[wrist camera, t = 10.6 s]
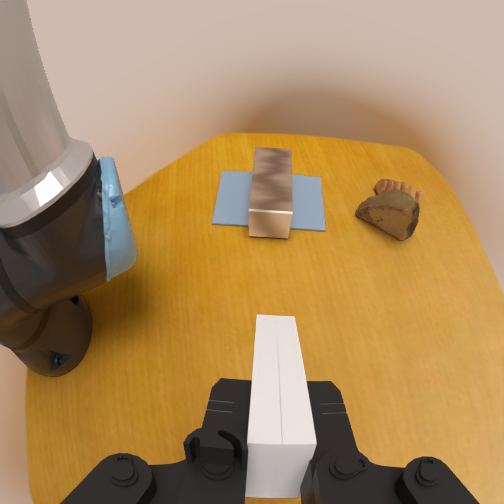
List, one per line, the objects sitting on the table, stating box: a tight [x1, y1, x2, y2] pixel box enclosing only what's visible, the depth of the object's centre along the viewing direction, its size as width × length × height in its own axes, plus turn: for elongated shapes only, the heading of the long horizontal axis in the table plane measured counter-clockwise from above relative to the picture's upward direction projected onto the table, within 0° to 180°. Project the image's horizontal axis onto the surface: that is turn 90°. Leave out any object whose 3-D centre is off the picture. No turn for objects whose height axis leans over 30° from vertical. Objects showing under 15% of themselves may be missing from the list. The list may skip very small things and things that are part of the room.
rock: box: [355, 188, 419, 240], centre depth 45 cm, size 11×9×10 cm
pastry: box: [375, 179, 422, 204], centre depth 49 cm, size 9×7×4 cm
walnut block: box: [249, 147, 293, 238], centre depth 46 cm, size 6×6×14 cm
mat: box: [212, 171, 326, 232], centre depth 50 cm, size 18×12×1 cm, turn 86°
